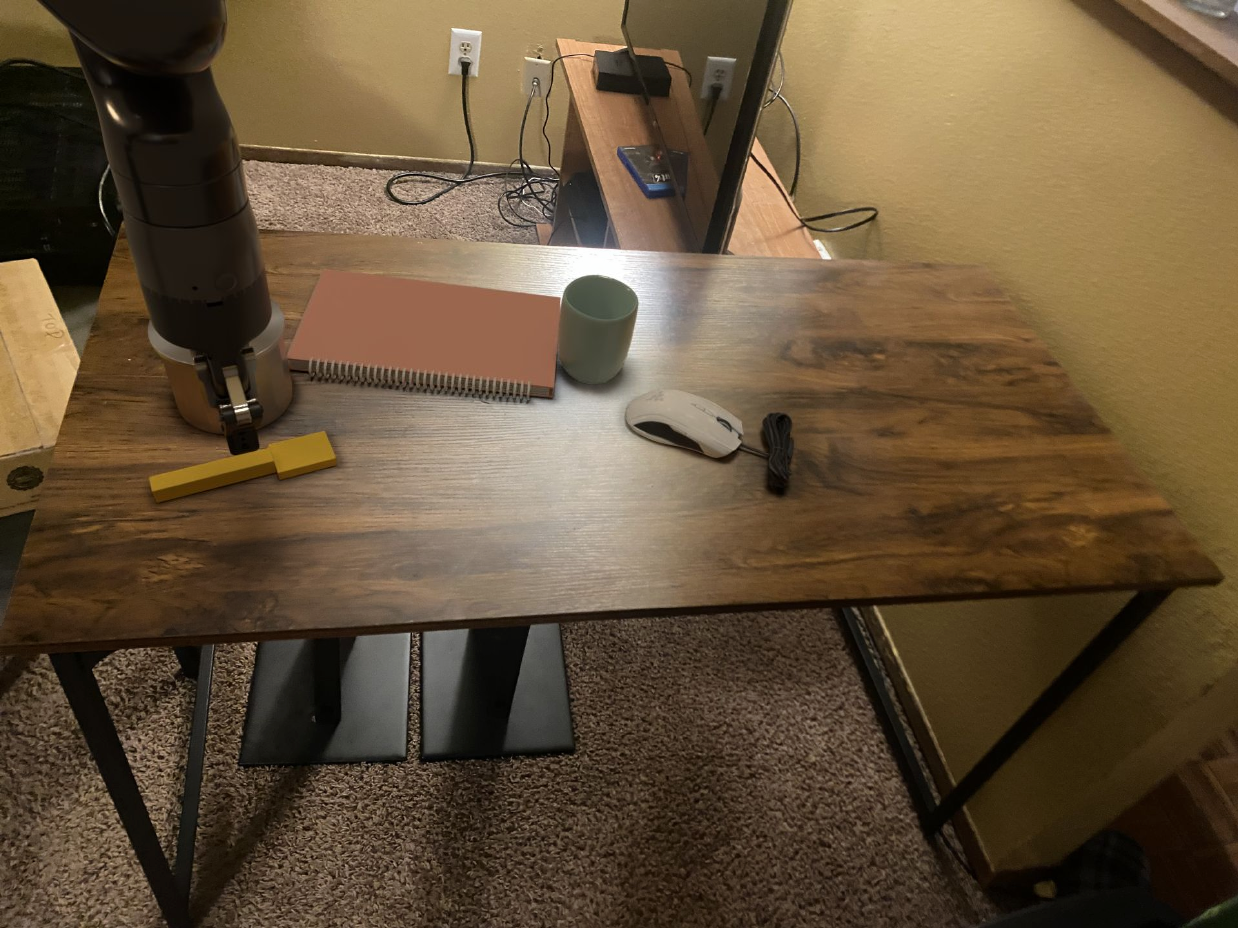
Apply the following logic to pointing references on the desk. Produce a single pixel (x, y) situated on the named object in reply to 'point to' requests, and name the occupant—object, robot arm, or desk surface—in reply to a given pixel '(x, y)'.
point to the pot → (269, 381)
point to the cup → (596, 327)
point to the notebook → (428, 334)
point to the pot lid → (260, 343)
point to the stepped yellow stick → (248, 467)
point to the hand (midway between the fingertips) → (243, 447)
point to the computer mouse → (708, 428)
